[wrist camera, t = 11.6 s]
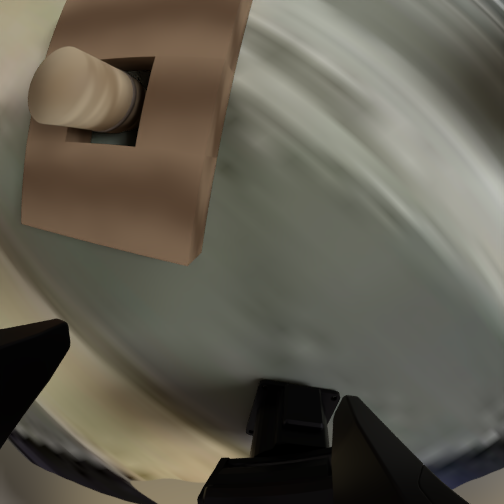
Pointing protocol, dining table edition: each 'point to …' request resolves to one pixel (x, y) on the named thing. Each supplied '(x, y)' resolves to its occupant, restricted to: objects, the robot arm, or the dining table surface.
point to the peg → (85, 93)
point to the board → (140, 128)
